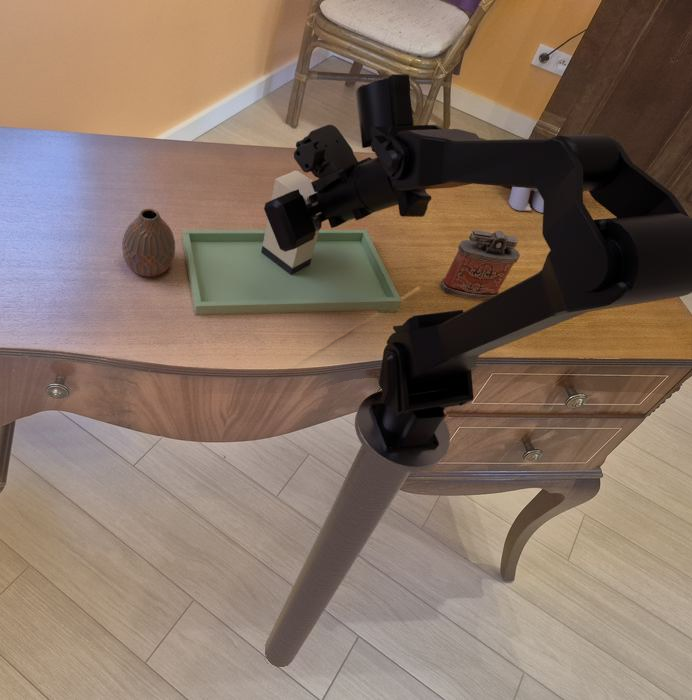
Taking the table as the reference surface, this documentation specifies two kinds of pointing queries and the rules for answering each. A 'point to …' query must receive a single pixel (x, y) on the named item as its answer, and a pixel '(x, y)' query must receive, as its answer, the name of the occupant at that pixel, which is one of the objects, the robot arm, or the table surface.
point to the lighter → (481, 265)
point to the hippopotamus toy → (525, 199)
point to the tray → (285, 275)
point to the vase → (148, 244)
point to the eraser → (270, 248)
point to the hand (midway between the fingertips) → (286, 217)
